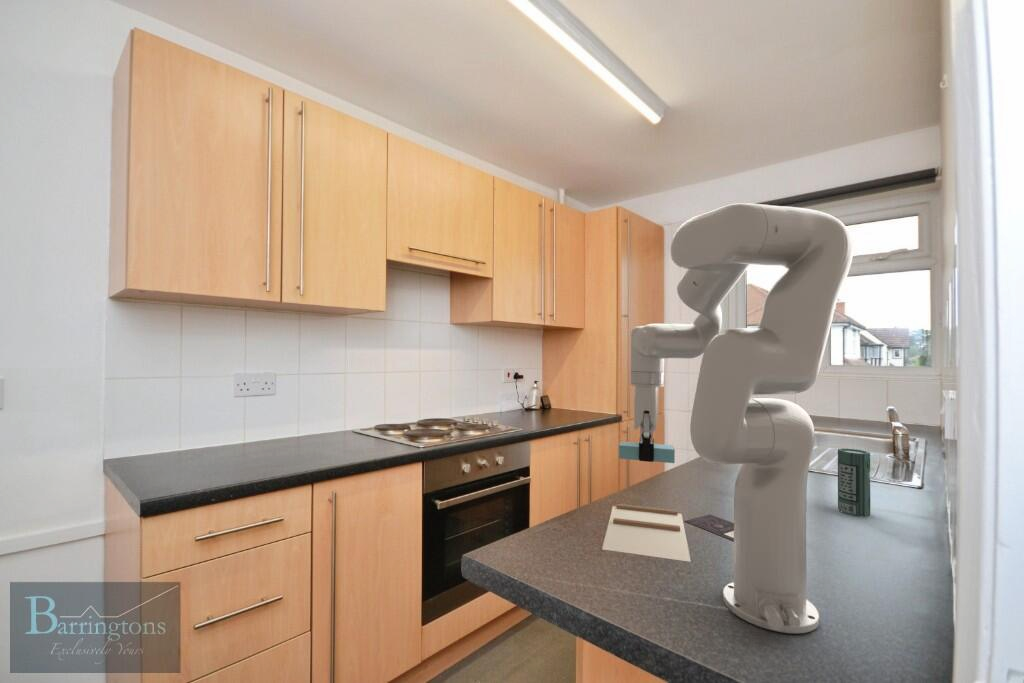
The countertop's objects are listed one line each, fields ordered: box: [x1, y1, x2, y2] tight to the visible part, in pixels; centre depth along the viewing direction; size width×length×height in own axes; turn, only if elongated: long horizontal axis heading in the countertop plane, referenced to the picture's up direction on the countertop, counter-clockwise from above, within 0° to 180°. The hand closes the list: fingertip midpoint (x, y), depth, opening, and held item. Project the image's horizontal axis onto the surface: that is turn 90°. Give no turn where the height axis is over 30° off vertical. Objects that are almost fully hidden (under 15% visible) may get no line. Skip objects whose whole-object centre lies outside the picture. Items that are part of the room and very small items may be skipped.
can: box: [837, 448, 871, 518], centre depth 112 cm, size 6×6×15 cm
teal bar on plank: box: [618, 440, 676, 464], centre depth 104 cm, size 12×5×3 cm, turn 73°
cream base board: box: [601, 503, 692, 563], centre depth 97 cm, size 26×16×1 cm, turn 163°
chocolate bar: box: [683, 514, 734, 542], centre depth 97 cm, size 9×1×18 cm
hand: (646, 457), depth 104 cm, fingers closed on teal bar on plank, 5 cm apart
